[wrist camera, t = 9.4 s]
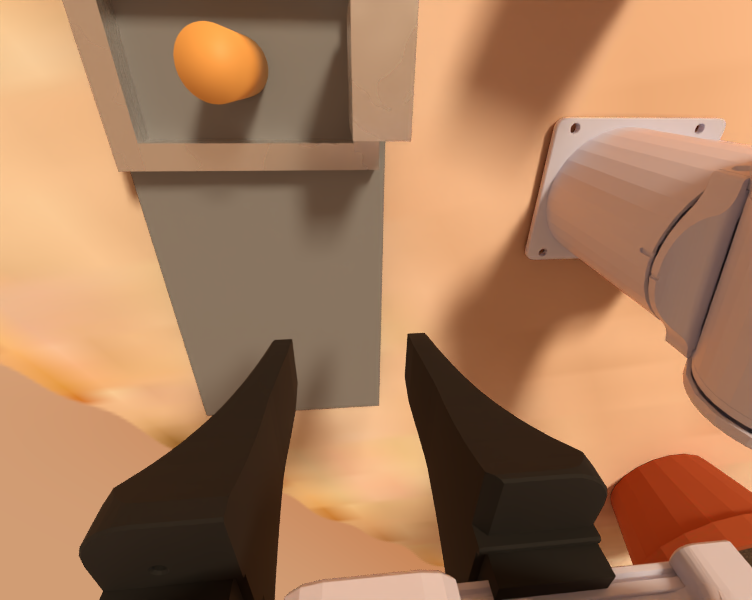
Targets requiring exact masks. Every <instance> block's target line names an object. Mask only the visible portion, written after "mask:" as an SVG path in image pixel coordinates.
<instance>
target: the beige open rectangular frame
mask: <svg viewBox="0 0 752 600" xmlns="http://www.w3.org/2000/svg"><path fill="white" fill-rule="evenodd" d="M62 1H63V4H64V8H65V11H66V14H67V17H68V20H69V23H70V26H71V29H72V32H73V35H74V38H75V41H76V44H77V47H78V50H79V53H80V56H81V59H82V62H83V65H84V68H85V71H86V74H87V77H88V80H89V83H90V87H91V90H92V93H93V96H94V99H95V102H96V105H97V108H98V111H99V114H100V117H101V120H102V123H103V126H104V129H105V132H106V135H107V138H108V141H109V144H110V147H111V150H112V153H113V156H114V159H115V162H116V166H117V169H118V172H128V171H280V170H379V141H411V133H412V115H413V97H414V79H415V61H416V43H417V26H418V8H419V0H349V2H348V9H347V56H348V100H349V126H350V131H351V135H352V139H149V137H148V133H147V130H146V126H145V122H144V119H143V115H142V112H141V108H140V104H139V101H138V97H137V94H136V90H135V86H134V83H133V79H132V75H131V72H130V68H129V65H128V61H127V57H126V54H125V50H124V47H123V43H122V39H121V36H120V32H119V28H118V25H117V21H116V18H115V14H114V10H113V7H112V3H111V0H62Z"/></svg>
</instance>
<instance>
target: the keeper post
mask: <svg viewBox="0 0 752 600" xmlns="http://www.w3.org/2000/svg"><path fill="white" fill-rule="evenodd" d="M173 56H174V64H175V67H176V71H177V73H178V75H179V77H180V79H181V81H182V82H183V84H184V85H185V87H186V88H187V89H188V90H189V91H190V92H191V93H192V94H193V95H195V96H196V97H197V98H199V99H201V100H203V101H205V102H207V103H211V104H226V103H230V102H234V101H238V100H241V99H245V98H249V97H252V96H255V95H257V94H258V93H259V92H261V91H262V89H263V88H264V87H265V85H266V82H267V79H268V63H267V60H266V57H265V55H264V53H263V51H262V49H261V48H260V47H259V46H258V44H257V43H256V42H255V41H253V40H252V39H251V38H249V37H247V36H245V35H242V34H240V33H237V32H235V31H233V30H230V29H228V28H225V27H223V26H221V25H218V24H216V23H213V22H209V21H197V22H193V23H191V24H189V25H187V26H185V27H184V28H183V29H182V30H181V32H180V33H179V34H178V36H177V38H176V41H175V44H174V52H173Z"/></svg>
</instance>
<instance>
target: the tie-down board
mask: <svg viewBox="0 0 752 600" xmlns="http://www.w3.org/2000/svg"><path fill="white" fill-rule="evenodd" d="M348 2H349V0H111V3H112V7H113V10H114V14H115V18H116V21H117V25H118V28H119V32H120V36H121V39H122V43H123V47H124V50H125V54H126V57H127V61H128V65H129V68H130V72H131V75H132V79H133V83H134V86H135V90H136V94H137V97H138V101H139V104H140V108H141V112H142V115H143V119H144V122H145V126H146V130H147V133H148V137H149V139H352V135H351V131H350V126H349V100H348V56H347V9H348ZM197 21H209V22H213V23H216V24H218V25H221V26H223V27H225V28H228V29H230V30H233V31H235V32H237V33H240V34H242V35H245V36H247V37H249V38H251V39H252V40H253V41H255V42H256V43H257V44H258V46H259V47H260V48H261V49H262V51H263V53H264V55H265V57H266V60H267V63H268V79H267V82H266V85H265V87H264V88H263V89H262V91H261V92H259V93H258V94H257V95H255V96H252V97H249V98H245V99H241V100H238V101H234V102H230V103H226V104H211V103H207V102H205V101H203V100H201V99H199V98H197V97H196V96H195V95H193V94H192V93H191V92H190V91H189V90H188V89H187V88H186V87H185V85H184V84H183V82H182V81H181V79H180V77H179V75H178V73H177V71H176V67H175V64H174V56H173V52H174V44H175V41H176V38H177V36H178V34H179V33H180V32H181V30H182V29H183V28H184V27H185V26H187V25H189V24H191V23H193V22H197ZM384 168H385V141H379V170H280V171H130V172H131V175H132V178H133V182H134V185H135V188H136V191H137V194H138V198H139V201H140V204H141V207H142V210H143V214H144V217H145V220H146V223H147V226H148V230H149V233H150V236H151V239H152V242H153V245H154V249H155V252H156V255H157V258H158V261H159V265H160V268H161V271H162V274H163V277H164V281H165V284H166V287H167V290H168V293H169V297H170V300H171V303H172V306H173V309H174V312H175V316H176V319H177V322H178V325H179V328H180V332H181V335H182V338H183V341H184V344H185V348H186V351H187V354H188V357H189V360H190V364H191V367H192V370H193V373H194V376H195V379H196V383H197V386H198V389H199V392H200V395H201V399H202V402H203V405H204V408H205V411H206V415H207V416H208V415H214V414H215V413H216V412H217V411H218V410H219V409H220V408H221V407H222V406H223V405H224V404H225V403H226V402H227V401H228V399H229V398H230V397H231V396H232V395H233V394H234V393H235V391H236V390H237V389H238V388H239V387H240V386H241V384H242V383H243V382H244V381H245V380H246V378H247V377H248V376H249V374H250V373H251V372H252V370H253V369H254V368H255V366H256V365H257V364H258V362H259V361H260V360H261V358H262V357H263V355H264V354H265V352H266V351H267V349H268V348H269V346H270V345H271V343H272V342H273V341H274V340H281V339H292V341H293V349H294V357H295V365H296V373H297V381H298V386H297V402H296V410H311V409H329V408H346V407H363V406H379V385H380V342H381V298H382V255H383V211H384Z"/></svg>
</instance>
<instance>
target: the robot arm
mask: <svg viewBox="0 0 752 600" xmlns="http://www.w3.org/2000/svg"><path fill="white" fill-rule="evenodd" d="M574 123H576V129H575V131H574V132H572V133H571V131H570V130H571V126H572V125H573V124H574ZM698 125H699V128H698V129H697V131H696V132H695V128H696V127H697V126H698ZM725 126H726V121H725V120H724V119H721V118H640V117H564V118H561V119H559V120H558V121H557V122H556V123H555V126H554V129H553V133H552V137H551V142H550V146H549V150H548V154H547V159H546V163H545V167H544V172H543V176H542V180H541V184H540V189H539V193H538V197H537V202H536V206H535V210H534V214H533V219H532V223H531V227H530V232H529V236H528V240H527V244H526V249H525V255H526V256H527V257H528V258H529V259H532V260H542V259H581V260H582V261H583V262H584V263H586V264H587V265H588V266H590V267H591V268H592V269H594V270H595V271H596V272H598V273H599V274H600V275H602V276H603V277H604V278H605V279H607V280H608V281H609V282H611V283H612V284H613V285H615V286H616V287H617V288H619V289H620V290H621V291H622V292H624V293H625V294H626V295H628V296H629V297H630V298H632V299H633V300H634V301H636V302H637V303H638V304H640V305H641V306H642V307H643V308H645V309H646V310H647V311H649V312H650V313H651V314H653V315H654V316H655V317H657V318H658V319H660V320H661V321H662V323H663V324H664V325H665V328H666V339H665V340H666V341H667V342H668V343H669V344H670V345H672V346H673V347H674V348H675V349H677V350H678V351H679V352H680V353H682V354H683V355H684V356H685V357H686V358H688V359H687V362H686V365H685V368H684V371H683V384H684V387H685V390H686V393H687V395H688V396H689V398H690V400H691V402H692V403H693V404H694V406H695V407H696V408H697V409H698V410H699V412H700V413H701V414H702V415H703V416H704V417H705V418H707V419H708V420H709V421H710V422H711V423H712V424H713V425H714V426H716V427H717V428H719V429H720V430H721V431H723V432H724V433H725V434H727V435H728V436H730V437H731V438H733V439H735V440H736V441H738V442H739V443H741V444H743V445H744V446H746V447H748V448H750V449H752V145H746V144H740V143H734V142H728V141H723V140H720V138H721V136H722V134H723V132H724V130H725ZM541 249H544V251H543V252H542V253H540V254H539V251H540V250H541ZM405 381H406V388H407V394H408V400H409V404H410V407H411V411H412V414H413V418H414V421H415V425H416V428H417V432H418V435H419V438H420V442H421V445H422V449H423V452H424V455H425V459H426V463H427V468H428V473H429V478H430V483H431V489H432V494H433V500H434V505H435V511H436V517H437V523H438V529H439V535H440V541H441V547H442V554H443V560H444V567H445V573H443V572H440V571H438V570H413V571H403V572H393V573H383V574H373V575H363V576H354V577H343V578H333V579H323V580H319V581H314V582H310V583H306V584H303V585H301V586H299V587H297V588H296V589H294V590H293V591H291V592H289V594H287V595H286V597H285V599H284V600H752V567H751V566H750V565H749V563H748V562H747V561H746V560H745V559H744V558H743V556H742V555H741V554H740V553H739V552H738V550H737V549H736V548H735V547H734V546H733V545H732V543H731V542H730V541H727V540H720V541H710V542H700V543H691V544H686V545H684V546H681V547H679V548H678V549H677V550H675V551H674V553H673V554H672V555H671V557H670V559H669V561H667V562H658V563H648V564H638V565H629V566H619V567H611V566H610V565H609V563H608V561H607V559H606V557H605V556H604V554H603V552H602V550H601V548H600V547H599V545H598V543H600V541H601V537H600V535H599V533H598V531H597V530H596V528H595V526H594V524H593V523H594V522H595V520H596V518H597V516H598V514H599V513H600V511H601V509H602V507H603V505H604V503H605V500H606V497H607V487H606V485H605V484H604V482H603V481H602V479H601V478H600V476H599V475H598V473H597V471H596V470H595V468H594V467H593V465H592V464H591V463H590V461H589V460H588V459H587V457H586V456H585V455H584V453H583V452H581V451H579V450H577V449H575V448H573V447H571V446H569V445H567V444H565V443H562V442H560V441H558V440H556V439H554V438H552V437H550V436H548V435H546V434H544V433H543V432H541V431H539V430H537V429H535V428H534V427H532V426H530V425H528V424H527V423H525V422H523V421H522V420H520V419H518V418H517V417H515V416H514V415H512V414H511V413H509V412H508V411H506V410H505V409H503V408H502V407H501V406H499V405H498V404H496V403H495V402H494V401H492V400H491V399H490V398H489V397H487V396H486V395H485V394H483V393H482V392H481V391H480V390H478V389H477V388H476V387H475V386H474V385H473V384H472V383H471V382H470V381H468V380H467V379H466V378H465V377H464V376H463V375H462V374H461V373H460V372H459V371H458V370H457V369H456V368H455V367H454V366H453V365H452V364H451V363H450V361H449V360H448V359H447V358H446V357H445V356H444V355H443V354H442V353H441V352H440V350H439V349H438V348H437V347H436V346H435V345H434V343H433V342H432V341H431V340H430V339H429V337H428V336H427V335H426V334H425V333H413V334H408V337H407V351H406V366H405ZM297 386H298V381H297V373H296V365H295V357H294V349H293V341H292V339H281V340H274V341H273V342H272V343H271V345H270V346H269V348H268V349H267V351H266V352H265V354H264V355H263V357H262V358H261V360H260V361H259V362H258V364H257V365H256V366H255V368H254V369H253V370H252V372H251V373H250V374H249V376H248V377H247V378H246V380H245V381H244V382H243V383H242V384H241V386H240V387H239V388H238V389H237V390H236V391H235V393H234V394H233V395H232V396H231V397H230V398H229V399H228V401H227V402H226V403H225V404H224V405H223V406H222V407H221V408H220V409H219V410H218V411H217V412H216V413H215V414H214V415H213V416H212V417H211V418H210V419H209V420H208V421H206V422H205V423H204V424H203V425H202V426H201V427H200V428H199V429H197V430H196V431H195V432H194V433H193V434H191V435H190V436H189V437H188V438H187V439H186V440H184V441H183V442H182V443H180V444H179V445H178V446H176V447H175V448H174V449H172V450H171V451H170V452H168V453H167V454H166V455H164V456H163V457H161V458H160V459H159V460H157V461H156V462H154V463H153V464H151V465H150V466H148V467H147V468H145V469H144V470H142V471H141V472H139V473H137V474H136V475H134V476H133V477H131V478H129V479H128V480H126V481H125V482H123V483H121V484H120V485H118V486H117V487H115V488H113V490H112V492H111V493H110V495H109V496H108V498H107V499H106V501H105V502H104V504H103V505H102V507H101V509H100V511H99V512H98V514H97V516H96V518H95V520H94V522H93V523H92V525H91V527H90V529H89V531H88V533H87V535H86V536H85V539H84V540H83V542H82V544H81V546H80V550H79V557H80V559H81V560H82V563H83V565H84V567H85V568H86V570H87V571H88V572H89V573H90V575H91V576H92V577H93V579H94V580H95V581H96V582H97V584H98V585H99V586H100V588H101V589H102V590H103V593H102V595H101V597H100V600H275V582H276V566H277V551H278V537H279V524H280V510H281V498H282V488H283V478H284V471H285V464H286V459H287V454H288V449H289V443H290V438H291V433H292V428H293V422H294V417H295V411H296V402H297Z"/></svg>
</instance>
